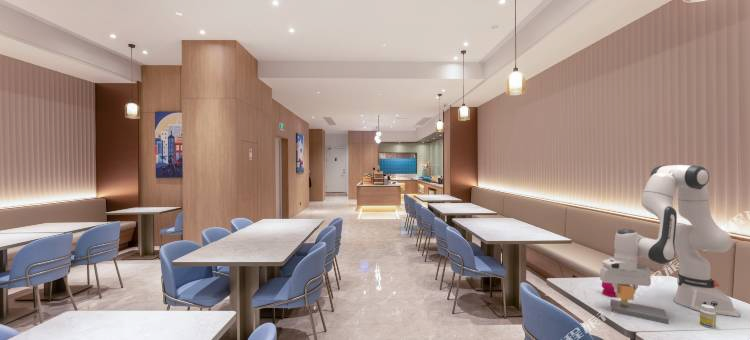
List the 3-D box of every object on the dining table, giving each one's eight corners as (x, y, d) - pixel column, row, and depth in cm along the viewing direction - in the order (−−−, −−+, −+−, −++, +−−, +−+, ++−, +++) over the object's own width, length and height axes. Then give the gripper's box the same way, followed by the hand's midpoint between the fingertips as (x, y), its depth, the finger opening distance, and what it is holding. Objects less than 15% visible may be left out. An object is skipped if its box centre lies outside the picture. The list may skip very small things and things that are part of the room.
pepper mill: (621, 298, 168) (622, 259, 167) (605, 296, 169) (606, 258, 169) (613, 292, 175) (614, 255, 174) (598, 291, 176) (599, 255, 176)
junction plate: (663, 313, 150) (664, 298, 150) (668, 324, 140) (669, 307, 140) (610, 302, 161) (610, 289, 161) (611, 311, 151) (611, 296, 151)
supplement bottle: (707, 323, 141) (707, 303, 141) (718, 328, 137) (719, 308, 137) (696, 323, 141) (696, 303, 141) (707, 328, 137) (708, 308, 137)
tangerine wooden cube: (627, 296, 155) (627, 283, 155) (633, 300, 150) (634, 287, 150) (615, 295, 156) (616, 282, 156) (621, 299, 151) (622, 286, 151)
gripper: (645, 263, 154) (644, 292, 154) (598, 260, 158) (597, 288, 158) (654, 267, 148) (653, 297, 148) (605, 264, 152) (604, 293, 152)
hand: (624, 293), depth 153 cm, fingers closed on tangerine wooden cube, 5 cm apart
